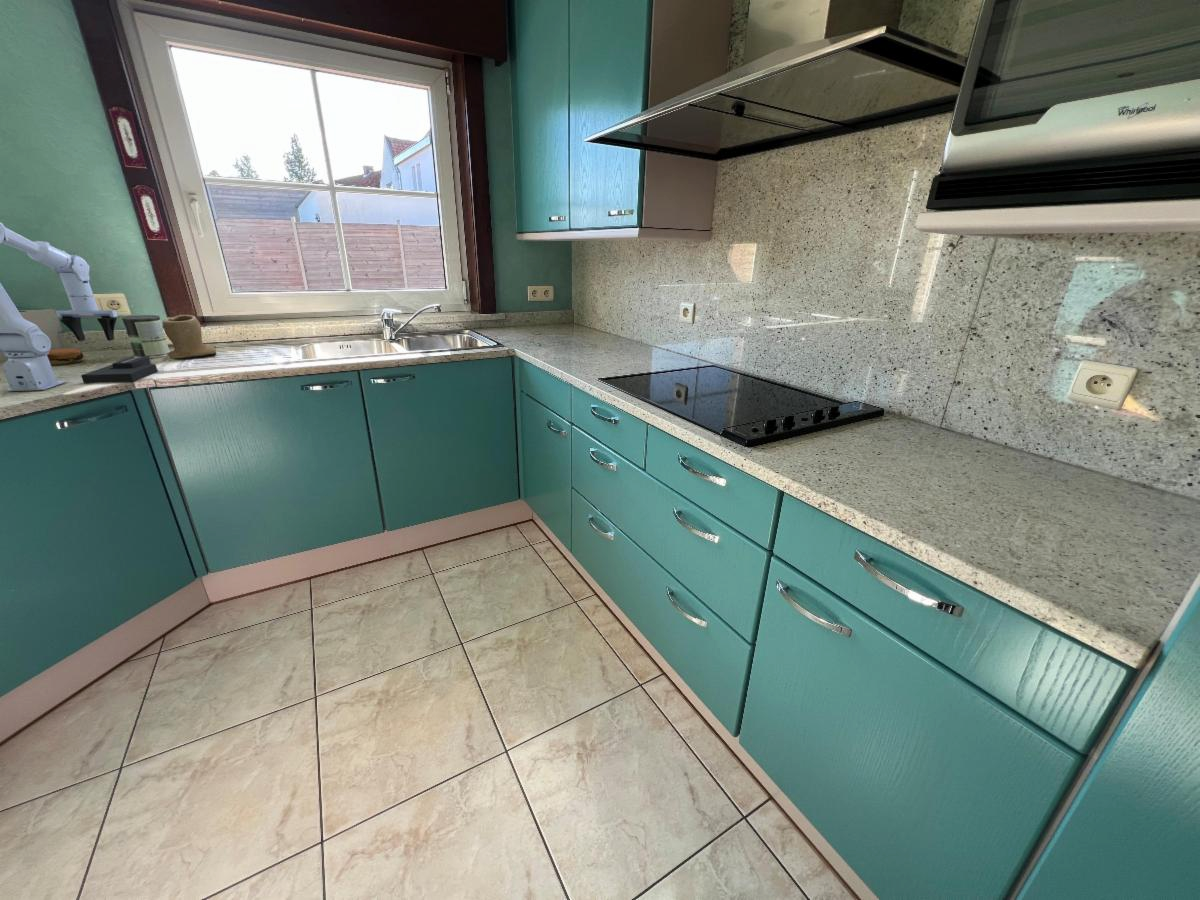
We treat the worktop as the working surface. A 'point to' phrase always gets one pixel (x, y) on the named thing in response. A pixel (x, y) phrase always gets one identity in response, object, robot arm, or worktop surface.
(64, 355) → the burger
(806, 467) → the worktop surface
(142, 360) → the pad
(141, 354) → the coffee can
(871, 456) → the worktop surface
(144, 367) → the notch pad
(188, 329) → the tan suede boot
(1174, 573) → the worktop surface
